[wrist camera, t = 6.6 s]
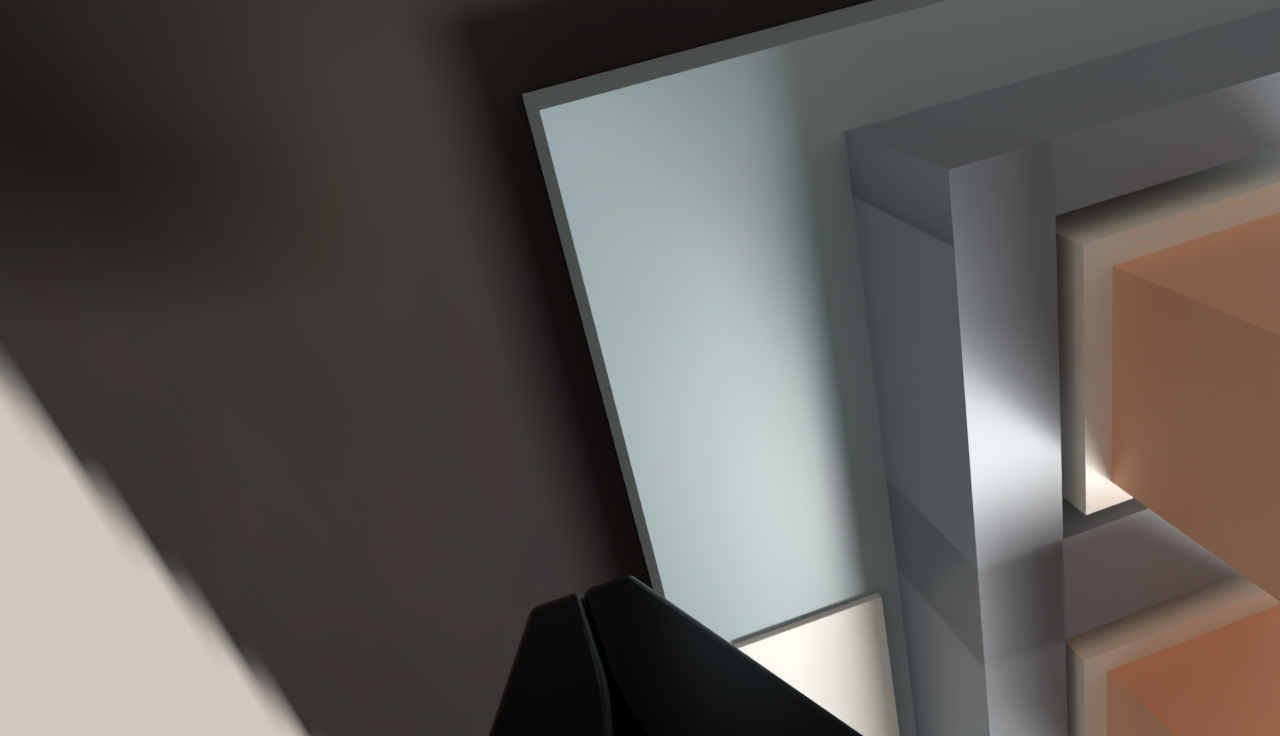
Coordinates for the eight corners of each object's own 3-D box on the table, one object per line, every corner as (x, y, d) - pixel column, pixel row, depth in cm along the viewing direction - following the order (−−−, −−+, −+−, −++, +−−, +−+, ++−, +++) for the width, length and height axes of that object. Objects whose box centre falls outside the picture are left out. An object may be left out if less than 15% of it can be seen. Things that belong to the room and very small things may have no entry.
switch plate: (1448, 562, 17) (1662, 682, 14) (720, 845, 15) (800, 1048, 12) (1598, -193, 12) (1982, -241, 9) (522, 94, 10) (580, 147, 7)
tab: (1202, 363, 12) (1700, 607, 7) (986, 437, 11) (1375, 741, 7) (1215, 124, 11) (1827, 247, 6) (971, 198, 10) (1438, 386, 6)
